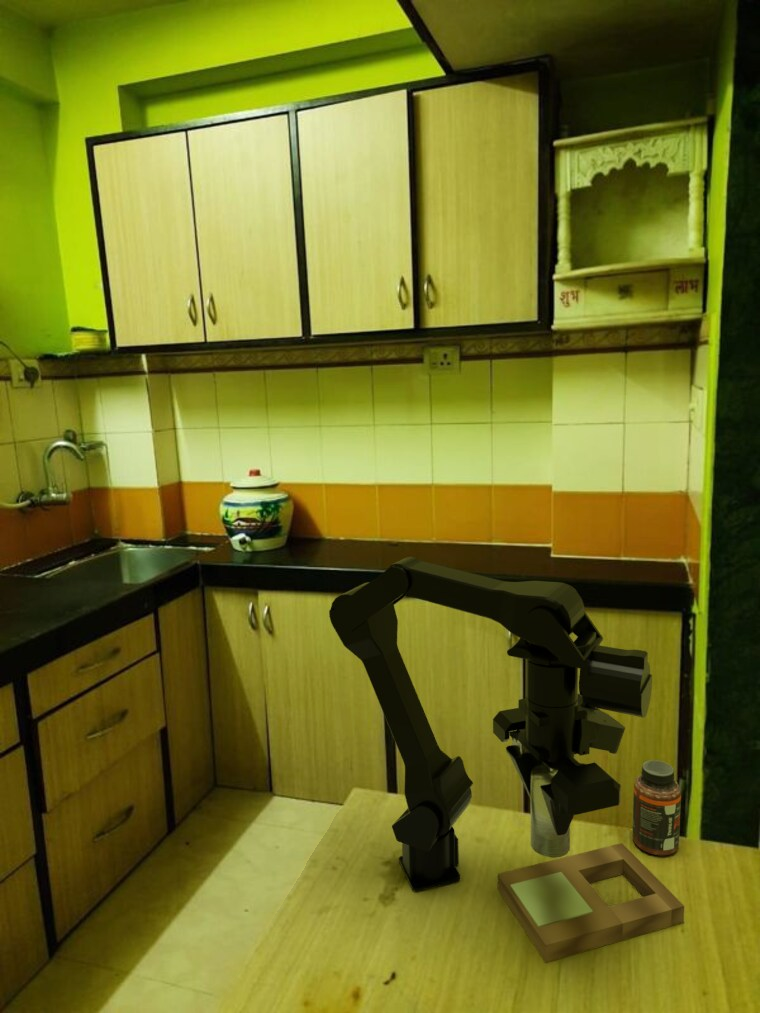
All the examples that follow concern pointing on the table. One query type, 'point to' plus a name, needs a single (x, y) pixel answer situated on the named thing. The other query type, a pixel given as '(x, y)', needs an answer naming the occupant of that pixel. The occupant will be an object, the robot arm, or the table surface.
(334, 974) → the table surface
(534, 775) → the clear glass jar
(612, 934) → the pocket block
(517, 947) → the table surface
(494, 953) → the table surface
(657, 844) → the supplement bottle
